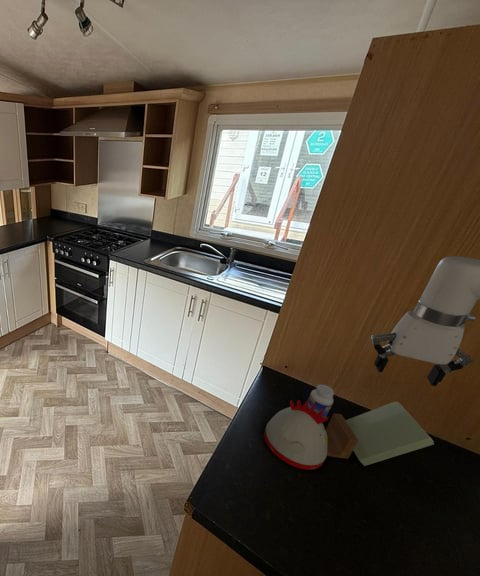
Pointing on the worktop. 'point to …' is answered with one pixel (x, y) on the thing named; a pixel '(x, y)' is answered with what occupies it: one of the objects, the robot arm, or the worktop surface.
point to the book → (386, 433)
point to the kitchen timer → (298, 436)
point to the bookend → (340, 438)
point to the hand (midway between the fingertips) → (404, 375)
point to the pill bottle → (321, 399)
